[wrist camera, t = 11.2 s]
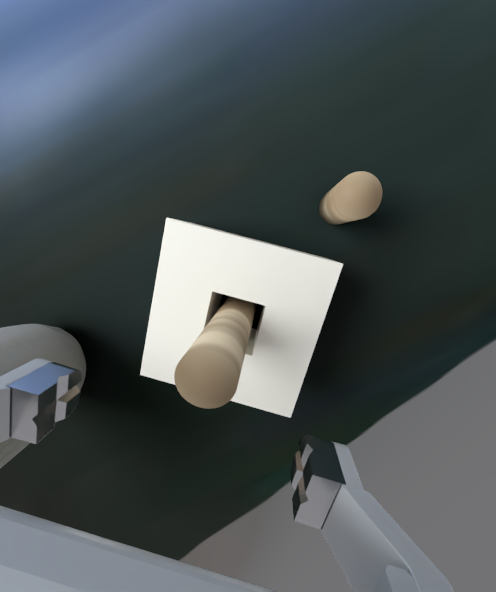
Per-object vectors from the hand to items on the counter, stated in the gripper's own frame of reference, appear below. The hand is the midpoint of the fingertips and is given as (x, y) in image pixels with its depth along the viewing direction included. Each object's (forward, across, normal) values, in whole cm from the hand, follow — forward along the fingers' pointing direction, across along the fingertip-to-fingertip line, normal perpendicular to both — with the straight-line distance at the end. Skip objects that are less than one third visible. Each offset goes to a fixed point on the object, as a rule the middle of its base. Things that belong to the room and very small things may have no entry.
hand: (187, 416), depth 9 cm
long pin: (+17, 0, 0) cm, 17 cm away
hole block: (+17, 0, 0) cm, 17 cm away
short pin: (+17, -6, -10) cm, 21 cm away
